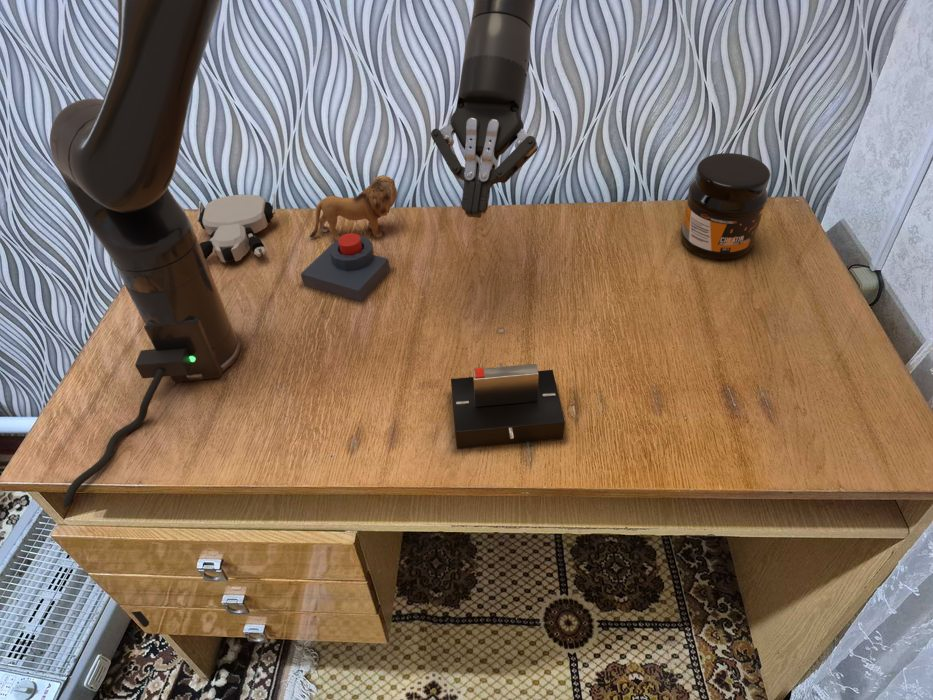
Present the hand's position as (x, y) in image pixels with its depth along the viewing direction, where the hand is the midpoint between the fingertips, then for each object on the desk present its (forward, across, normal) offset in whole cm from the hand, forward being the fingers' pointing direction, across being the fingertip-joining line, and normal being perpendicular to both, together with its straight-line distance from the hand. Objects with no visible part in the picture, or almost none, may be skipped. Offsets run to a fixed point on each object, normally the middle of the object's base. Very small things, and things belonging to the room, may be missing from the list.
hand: (473, 215), depth 77 cm
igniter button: (+4, -21, +15) cm, 26 cm away
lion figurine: (0, -24, +24) cm, 34 cm away
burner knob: (+20, +7, -1) cm, 22 cm away
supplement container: (-6, +30, +30) cm, 43 cm away
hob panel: (+22, +7, +1) cm, 24 cm away
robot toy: (+4, -42, +20) cm, 47 cm away
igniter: (+8, -22, +16) cm, 28 cm away
